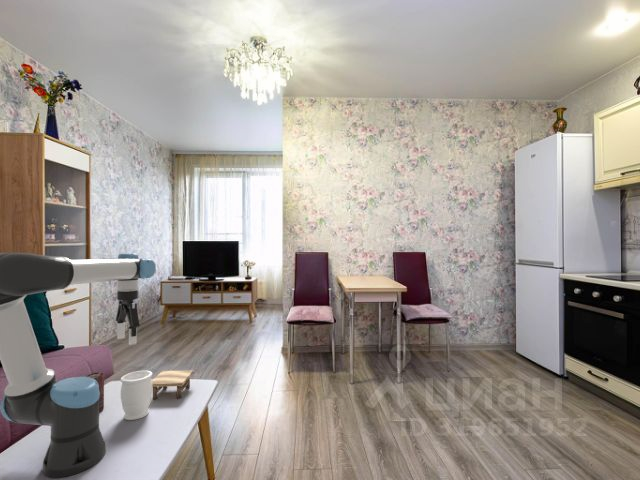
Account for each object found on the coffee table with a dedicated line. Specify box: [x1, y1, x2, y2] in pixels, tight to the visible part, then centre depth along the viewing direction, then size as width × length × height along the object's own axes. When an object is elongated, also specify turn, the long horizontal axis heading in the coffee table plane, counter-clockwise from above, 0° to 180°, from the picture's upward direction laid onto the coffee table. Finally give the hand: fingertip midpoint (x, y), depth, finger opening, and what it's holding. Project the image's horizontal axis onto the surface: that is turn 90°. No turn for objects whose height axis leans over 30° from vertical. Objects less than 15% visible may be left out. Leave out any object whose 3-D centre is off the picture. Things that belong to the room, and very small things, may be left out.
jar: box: [120, 369, 153, 421], centre depth 124 cm, size 11×10×15 cm
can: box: [85, 372, 105, 413], centre depth 127 cm, size 6×6×14 cm
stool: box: [151, 369, 195, 400], centre depth 142 cm, size 14×14×7 cm
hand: (126, 341), depth 136 cm, fingers open, 13 cm apart
